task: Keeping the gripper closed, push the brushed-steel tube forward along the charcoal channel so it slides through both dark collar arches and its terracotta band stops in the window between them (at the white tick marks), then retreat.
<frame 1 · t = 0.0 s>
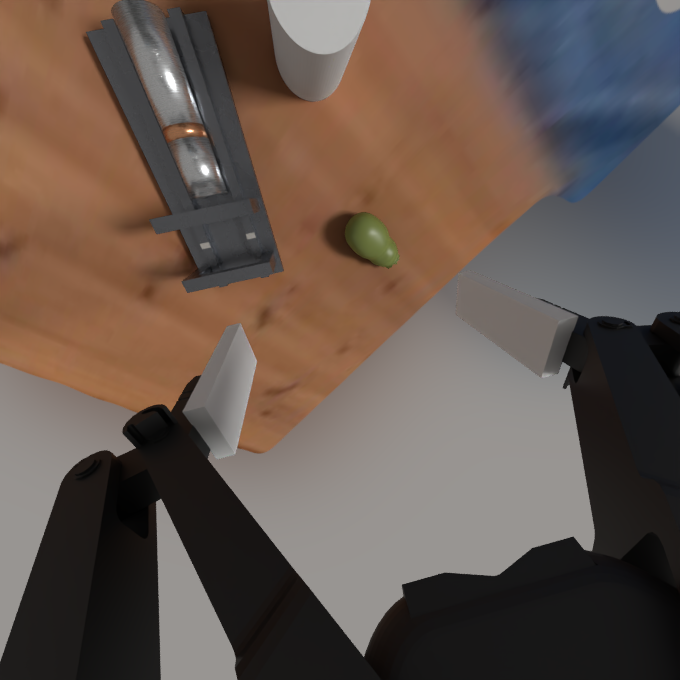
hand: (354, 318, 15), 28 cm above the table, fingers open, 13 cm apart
white cylinder: (310, 54, 29), on the table
pear: (369, 240, 40), on the table
tube: (185, 123, 29), point 1 cm above the table, touching collar rail
collar rail: (209, 178, 33), on the table
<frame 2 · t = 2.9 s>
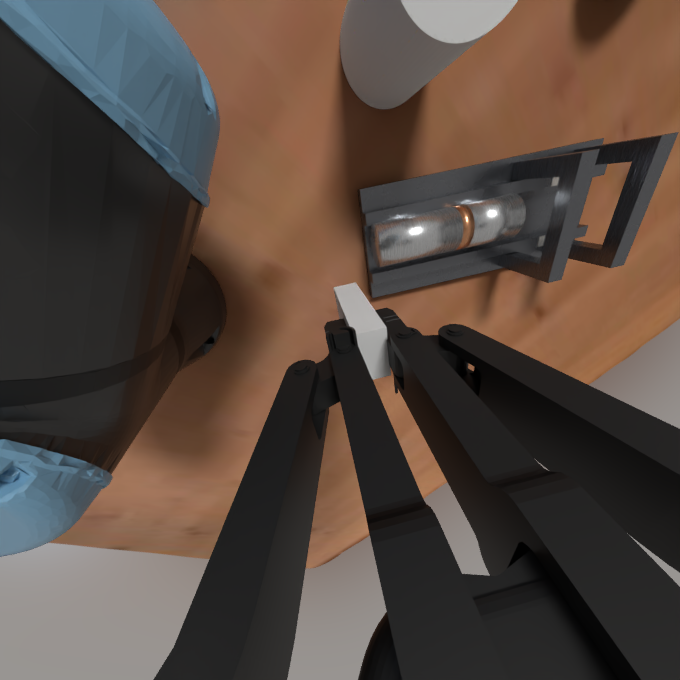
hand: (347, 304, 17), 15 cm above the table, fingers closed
white cylinder: (385, 47, 22), on the table
tube: (433, 234, 29), point 1 cm above the table, tilted 17°, touching collar rail
collar rail: (473, 223, 30), on the table
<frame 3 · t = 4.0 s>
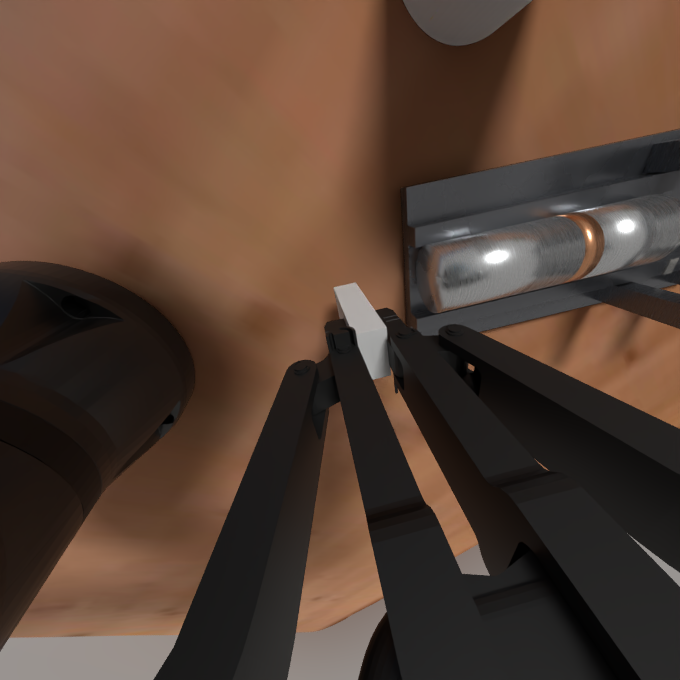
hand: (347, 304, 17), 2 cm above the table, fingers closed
tube: (512, 258, 19), point 1 cm above the table, tilted 17°, touching collar rail
collar rail: (567, 240, 20), on the table
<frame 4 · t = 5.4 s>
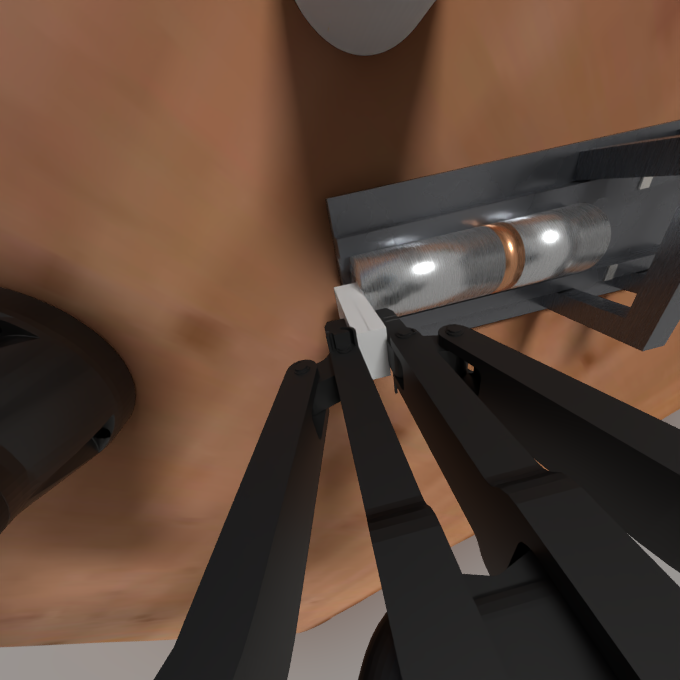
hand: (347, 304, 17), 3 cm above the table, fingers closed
tube: (450, 266, 19), point 1 cm above the table, tilted 16°, touching collar rail, gripper
collar rail: (507, 247, 20), on the table
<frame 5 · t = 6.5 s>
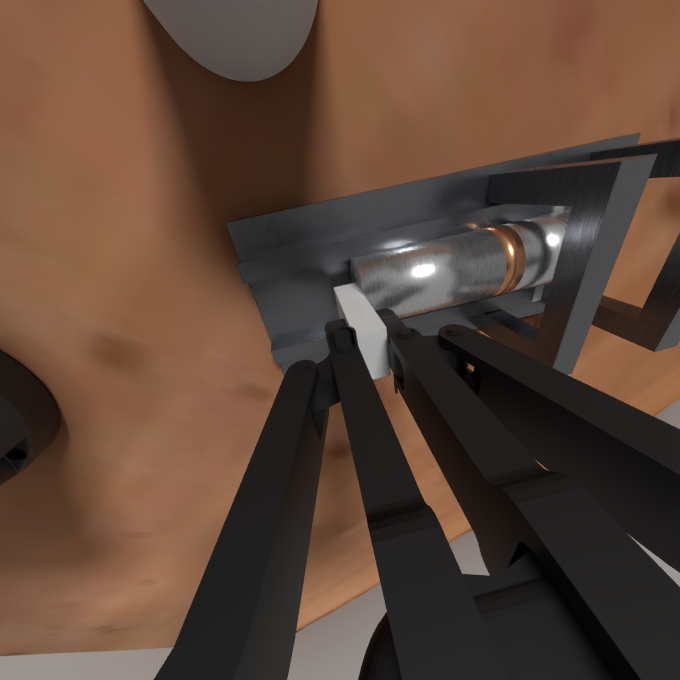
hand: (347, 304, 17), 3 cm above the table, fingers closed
tube: (450, 269, 19), point 1 cm above the table, tilted 17°, touching gripper
collar rail: (432, 267, 20), on the table
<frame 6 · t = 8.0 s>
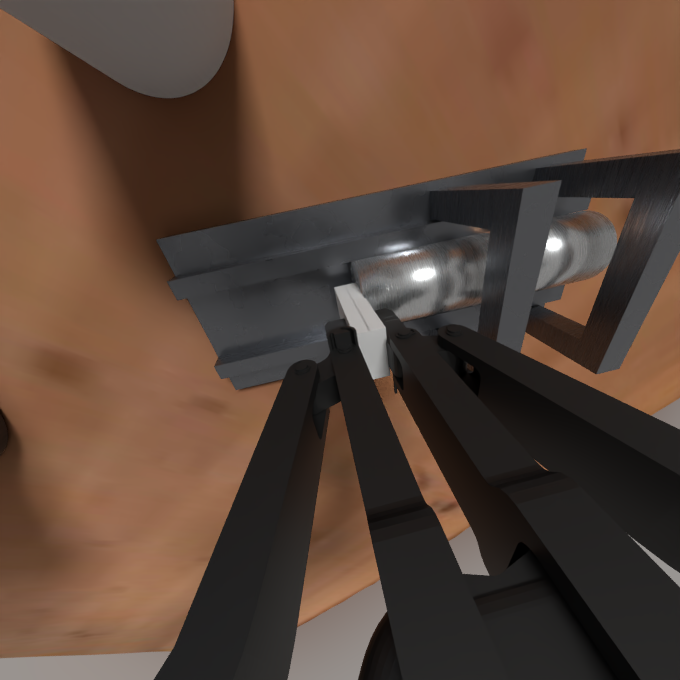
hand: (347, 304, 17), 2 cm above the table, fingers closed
tube: (452, 271, 18), point 1 cm above the table, tilted 15°, touching collar rail, gripper
collar rail: (382, 282, 19), on the table
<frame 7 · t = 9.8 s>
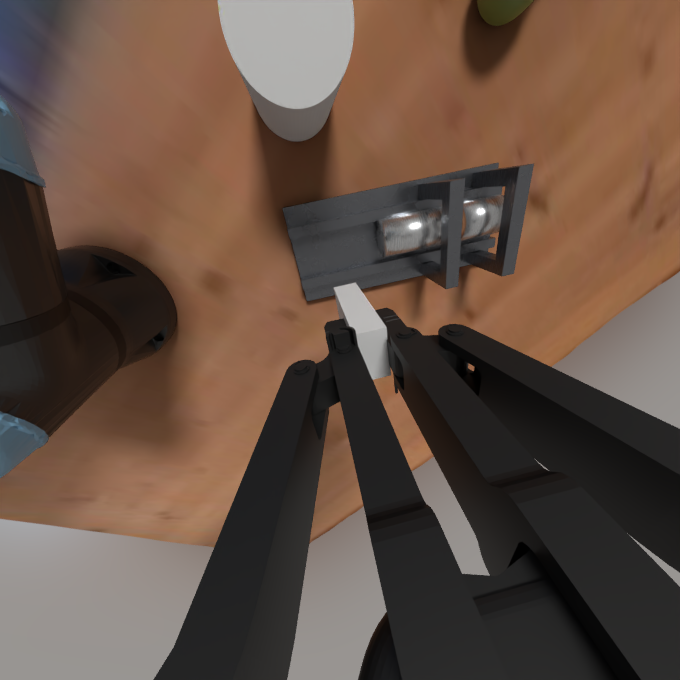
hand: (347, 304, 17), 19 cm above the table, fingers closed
white cylinder: (292, 92, 26), on the table
tube: (431, 229, 33), point 1 cm above the table, tilted 15°, touching collar rail
collar rail: (392, 236, 34), on the table
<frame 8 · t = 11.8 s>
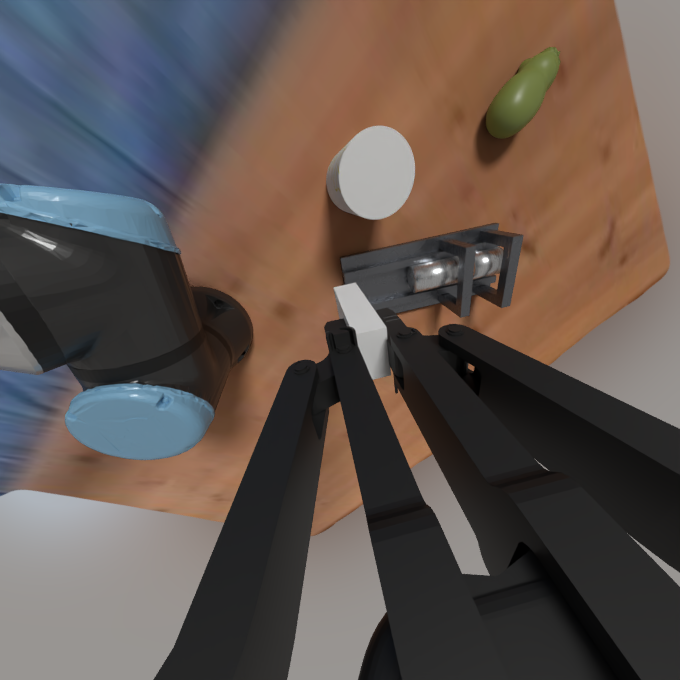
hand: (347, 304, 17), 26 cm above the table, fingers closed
white cylinder: (353, 181, 37), on the table
pear: (509, 100, 35), on the table
tube: (448, 270, 44), point 1 cm above the table, tilted 15°, touching collar rail
collar rail: (418, 274, 45), on the table
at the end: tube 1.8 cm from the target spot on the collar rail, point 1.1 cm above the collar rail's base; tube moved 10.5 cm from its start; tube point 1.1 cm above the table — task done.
